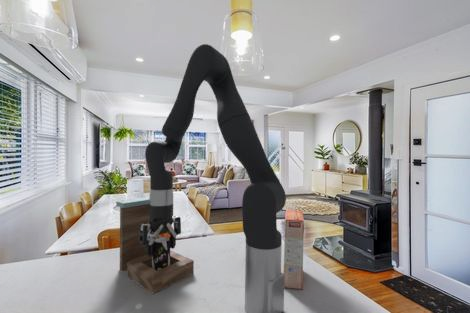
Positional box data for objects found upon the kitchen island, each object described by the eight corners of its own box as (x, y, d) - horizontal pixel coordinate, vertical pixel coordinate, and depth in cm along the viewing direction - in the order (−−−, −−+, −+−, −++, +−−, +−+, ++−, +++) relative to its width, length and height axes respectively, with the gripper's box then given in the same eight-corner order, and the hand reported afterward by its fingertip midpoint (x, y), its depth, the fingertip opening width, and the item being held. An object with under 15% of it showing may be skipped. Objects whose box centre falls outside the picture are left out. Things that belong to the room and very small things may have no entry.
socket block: (193, 273, 80) (193, 260, 80) (153, 293, 69) (153, 278, 69) (166, 260, 90) (166, 248, 90) (127, 276, 78) (127, 262, 78)
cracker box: (303, 290, 71) (304, 220, 71) (282, 288, 73) (284, 218, 73) (301, 269, 85) (302, 209, 85) (284, 266, 86) (285, 208, 86)
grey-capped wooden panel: (164, 258, 92) (165, 197, 91) (122, 274, 79) (123, 203, 79) (157, 255, 95) (157, 195, 95) (115, 270, 82) (116, 201, 82)
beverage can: (150, 280, 76) (150, 242, 76) (153, 271, 82) (153, 236, 82) (169, 278, 77) (169, 241, 77) (170, 270, 83) (170, 235, 83)
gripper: (148, 207, 71) (147, 262, 71) (186, 200, 82) (185, 248, 82) (134, 204, 76) (134, 255, 76) (172, 198, 87) (172, 243, 87)
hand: (161, 251), depth 79 cm, fingers open, 8 cm apart
